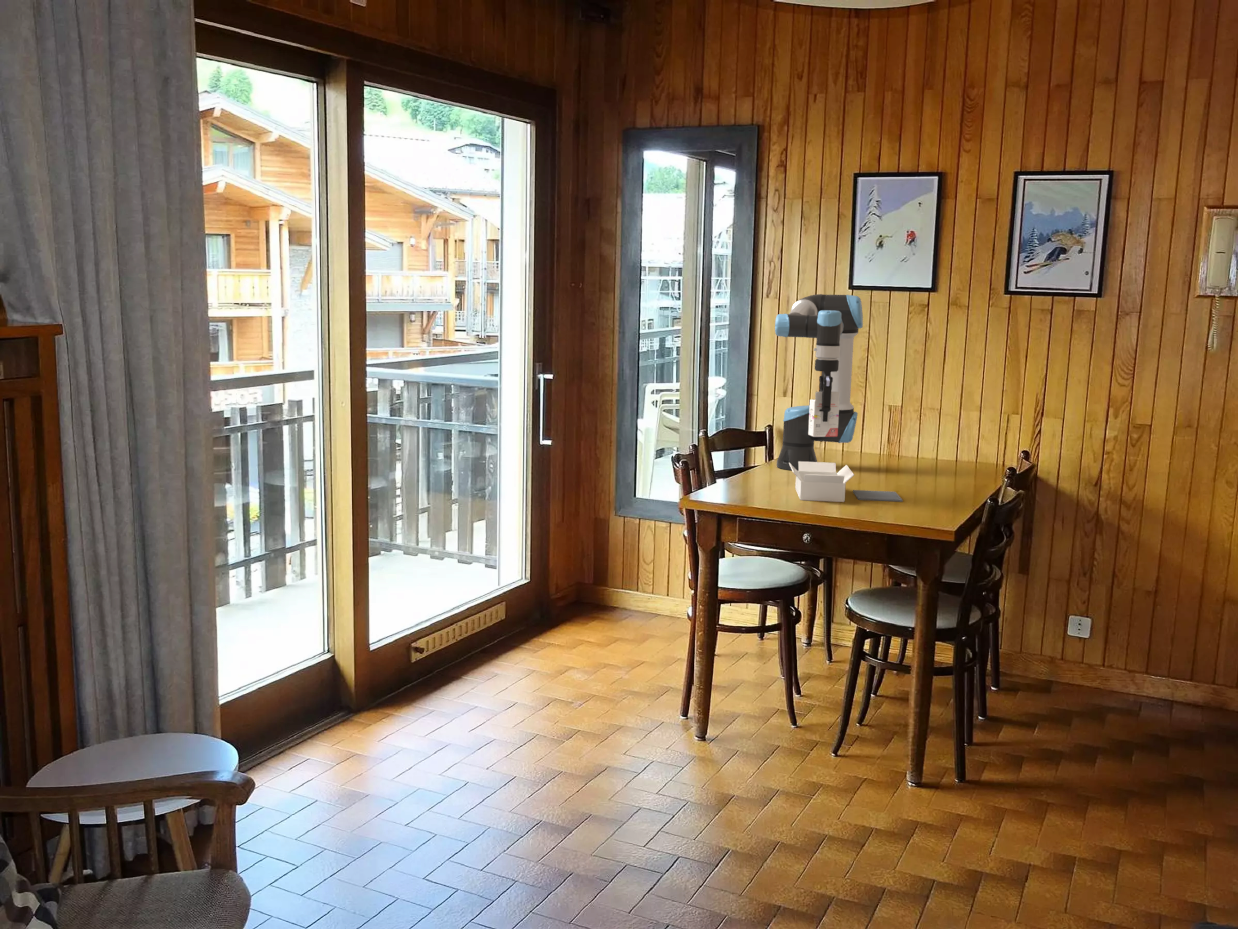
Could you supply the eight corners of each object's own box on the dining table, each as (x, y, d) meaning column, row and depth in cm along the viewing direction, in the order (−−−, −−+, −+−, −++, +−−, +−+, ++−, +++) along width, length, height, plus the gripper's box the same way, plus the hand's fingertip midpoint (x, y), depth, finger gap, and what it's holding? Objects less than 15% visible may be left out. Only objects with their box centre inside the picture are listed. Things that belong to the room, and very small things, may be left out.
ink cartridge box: (832, 434, 367) (834, 389, 365) (837, 436, 362) (840, 391, 360) (807, 434, 366) (809, 389, 363) (812, 437, 361) (815, 391, 358)
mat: (852, 491, 374) (852, 490, 374) (895, 493, 373) (895, 491, 373) (858, 499, 361) (858, 498, 361) (902, 501, 360) (902, 499, 360)
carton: (786, 486, 380) (788, 460, 379) (844, 489, 379) (845, 463, 377) (792, 501, 355) (793, 473, 354) (854, 503, 354) (855, 476, 352)
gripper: (812, 356, 369) (808, 425, 373) (818, 360, 351) (814, 433, 355) (835, 356, 369) (831, 426, 373) (842, 361, 350) (838, 434, 354)
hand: (823, 429), depth 364 cm, fingers closed on ink cartridge box, 6 cm apart
